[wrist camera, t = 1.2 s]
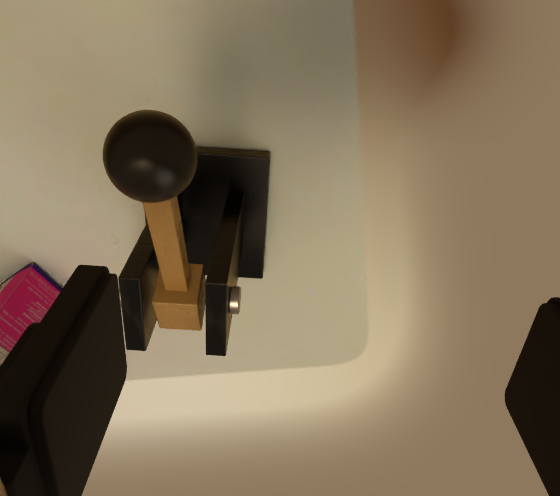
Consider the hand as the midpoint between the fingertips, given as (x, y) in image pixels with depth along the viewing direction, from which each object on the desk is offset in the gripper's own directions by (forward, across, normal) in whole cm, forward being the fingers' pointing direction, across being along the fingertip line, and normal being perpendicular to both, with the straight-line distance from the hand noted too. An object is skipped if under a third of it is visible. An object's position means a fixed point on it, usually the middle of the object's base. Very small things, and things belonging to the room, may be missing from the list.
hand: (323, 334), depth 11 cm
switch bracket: (+22, +6, +8) cm, 24 cm away
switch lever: (+12, +6, +3) cm, 13 cm away
